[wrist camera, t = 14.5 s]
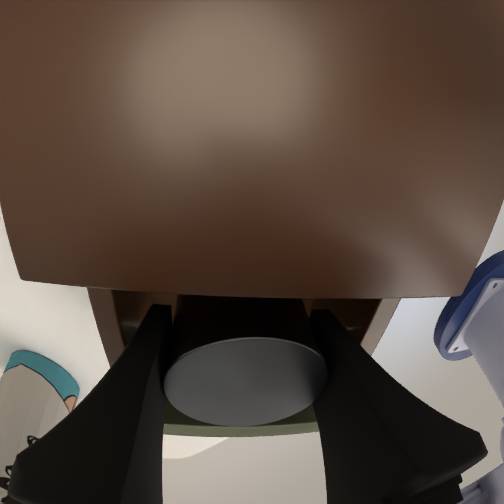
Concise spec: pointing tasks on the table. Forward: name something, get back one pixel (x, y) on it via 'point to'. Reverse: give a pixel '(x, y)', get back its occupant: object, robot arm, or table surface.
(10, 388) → the cartoon face cylinder
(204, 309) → the steel tin
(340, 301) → the drawer
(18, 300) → the table surface
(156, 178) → the cabinet
